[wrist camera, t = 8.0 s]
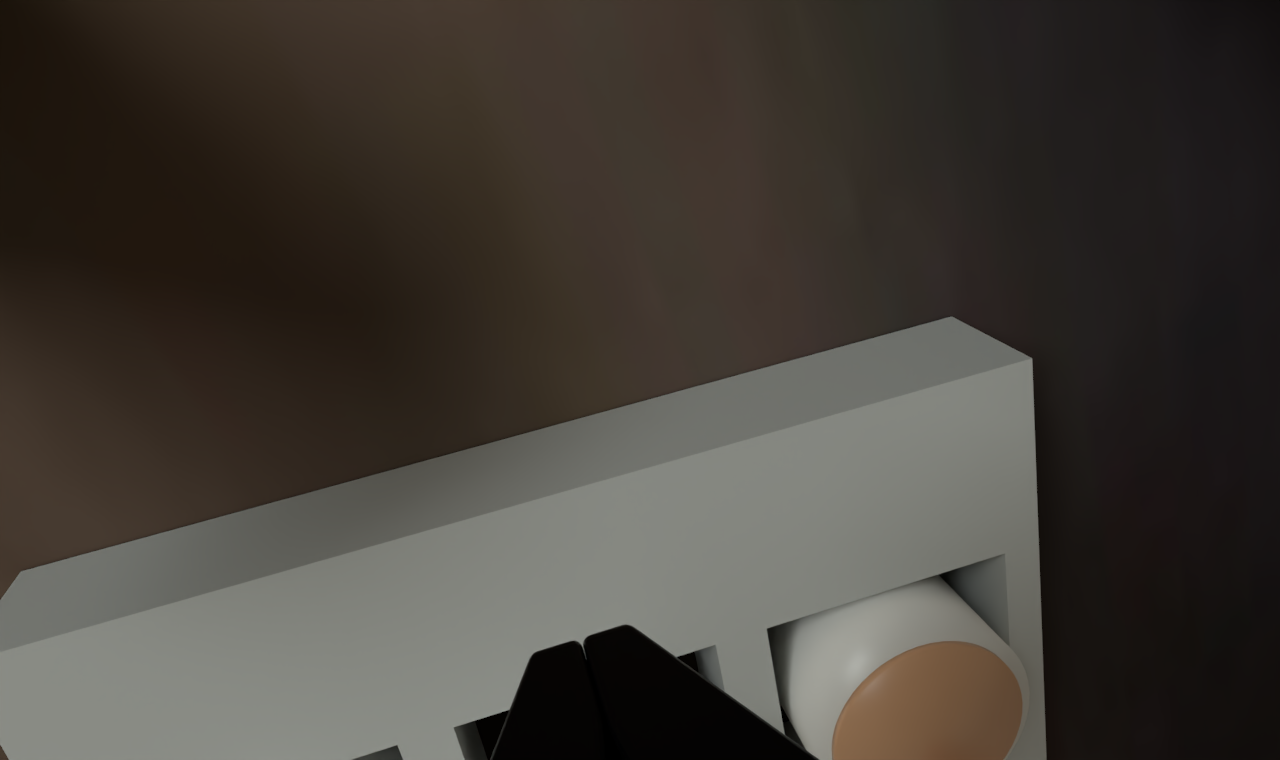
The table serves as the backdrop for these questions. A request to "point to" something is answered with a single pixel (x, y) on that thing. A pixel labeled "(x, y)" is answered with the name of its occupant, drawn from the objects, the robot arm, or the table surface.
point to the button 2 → (900, 679)
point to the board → (546, 564)
